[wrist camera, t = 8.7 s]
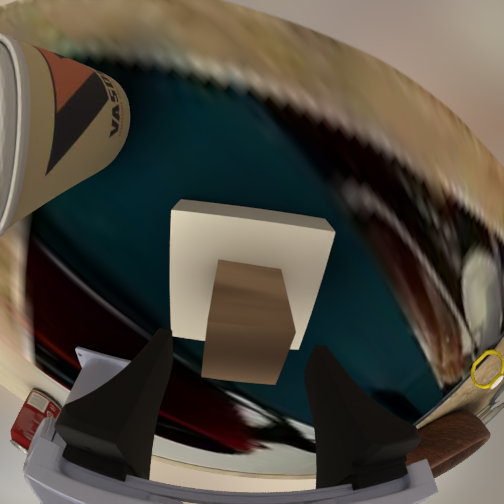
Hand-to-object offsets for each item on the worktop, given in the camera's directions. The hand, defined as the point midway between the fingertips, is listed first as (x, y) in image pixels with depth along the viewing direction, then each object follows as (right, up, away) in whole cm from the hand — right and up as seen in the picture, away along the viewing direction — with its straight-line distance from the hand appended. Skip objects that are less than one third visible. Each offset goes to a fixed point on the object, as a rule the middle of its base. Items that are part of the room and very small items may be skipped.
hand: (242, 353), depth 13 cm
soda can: (-34, -20, +18) cm, 44 cm away
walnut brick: (0, +3, +5) cm, 6 cm away
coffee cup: (-11, +14, +2) cm, 18 cm away
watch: (+36, -11, +15) cm, 40 cm away
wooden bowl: (+40, -36, +27) cm, 60 cm away
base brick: (0, +4, +8) cm, 9 cm away
